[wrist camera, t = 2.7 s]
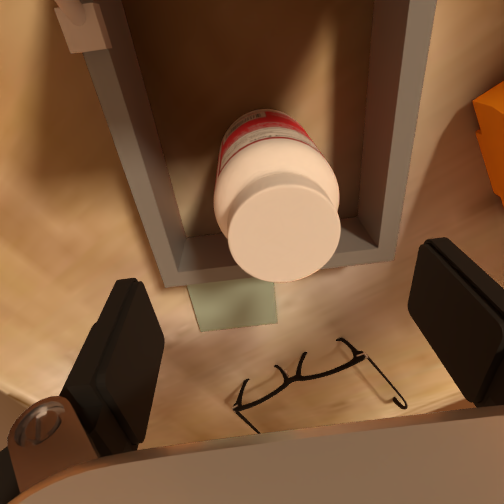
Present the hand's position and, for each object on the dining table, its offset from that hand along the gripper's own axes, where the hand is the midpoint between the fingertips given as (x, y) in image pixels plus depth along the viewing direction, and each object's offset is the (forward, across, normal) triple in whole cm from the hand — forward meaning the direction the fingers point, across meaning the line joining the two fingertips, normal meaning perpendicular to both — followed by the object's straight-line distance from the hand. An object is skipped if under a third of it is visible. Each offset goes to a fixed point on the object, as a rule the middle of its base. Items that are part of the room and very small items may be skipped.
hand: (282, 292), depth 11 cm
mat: (+14, +3, +12) cm, 19 cm away
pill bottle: (+14, -1, -1) cm, 14 cm away
